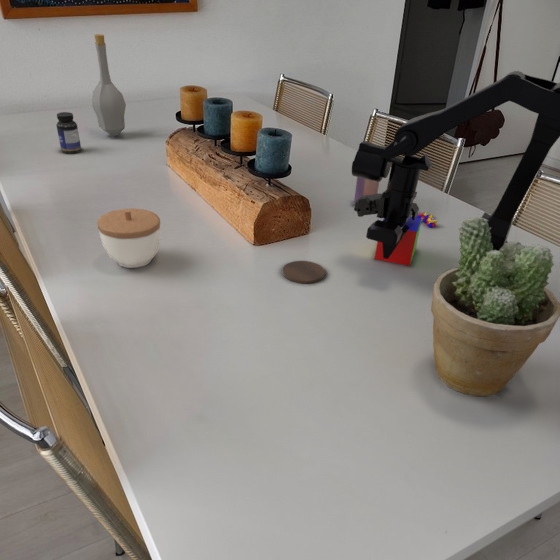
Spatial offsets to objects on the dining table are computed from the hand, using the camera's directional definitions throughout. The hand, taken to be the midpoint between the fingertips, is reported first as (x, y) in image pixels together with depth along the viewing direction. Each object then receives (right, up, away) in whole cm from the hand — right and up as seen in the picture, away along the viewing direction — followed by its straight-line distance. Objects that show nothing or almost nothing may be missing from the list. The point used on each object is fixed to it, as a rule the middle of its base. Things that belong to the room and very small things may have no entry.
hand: (385, 258), depth 119 cm
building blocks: (+14, +14, +23) cm, 30 cm away
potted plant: (+9, -26, -28) cm, 39 cm away
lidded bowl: (-55, -1, -1) cm, 55 cm away
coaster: (-18, -4, -2) cm, 19 cm away
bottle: (-81, +57, +69) cm, 120 cm away
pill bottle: (-90, +46, +55) cm, 115 cm away
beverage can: (0, +21, +30) cm, 36 cm away
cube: (+3, +2, +7) cm, 8 cm away
